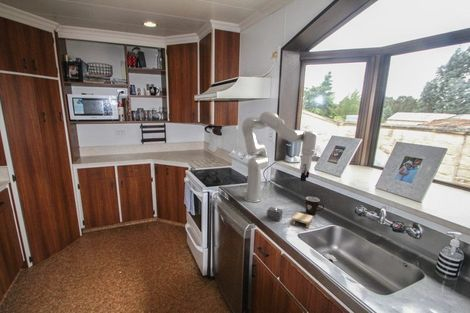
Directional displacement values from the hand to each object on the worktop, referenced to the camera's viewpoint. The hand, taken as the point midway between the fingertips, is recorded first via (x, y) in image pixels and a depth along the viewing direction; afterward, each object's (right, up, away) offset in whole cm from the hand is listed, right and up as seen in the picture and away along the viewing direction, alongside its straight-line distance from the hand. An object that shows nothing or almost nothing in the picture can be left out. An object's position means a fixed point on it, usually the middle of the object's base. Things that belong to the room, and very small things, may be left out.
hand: (304, 179), depth 148 cm
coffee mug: (+8, -24, +9) cm, 27 cm away
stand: (-3, -26, -4) cm, 26 cm away
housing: (-19, -24, 0) cm, 31 cm away
